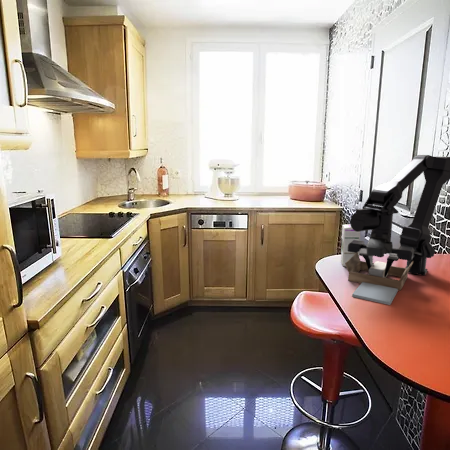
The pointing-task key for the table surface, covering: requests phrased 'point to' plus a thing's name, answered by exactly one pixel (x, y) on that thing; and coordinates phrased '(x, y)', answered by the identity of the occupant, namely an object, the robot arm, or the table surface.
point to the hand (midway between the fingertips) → (378, 275)
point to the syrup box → (347, 238)
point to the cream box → (378, 269)
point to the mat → (375, 293)
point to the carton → (356, 265)
